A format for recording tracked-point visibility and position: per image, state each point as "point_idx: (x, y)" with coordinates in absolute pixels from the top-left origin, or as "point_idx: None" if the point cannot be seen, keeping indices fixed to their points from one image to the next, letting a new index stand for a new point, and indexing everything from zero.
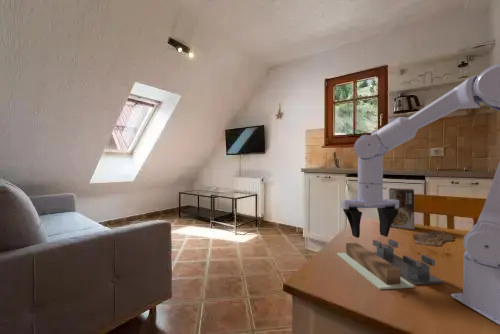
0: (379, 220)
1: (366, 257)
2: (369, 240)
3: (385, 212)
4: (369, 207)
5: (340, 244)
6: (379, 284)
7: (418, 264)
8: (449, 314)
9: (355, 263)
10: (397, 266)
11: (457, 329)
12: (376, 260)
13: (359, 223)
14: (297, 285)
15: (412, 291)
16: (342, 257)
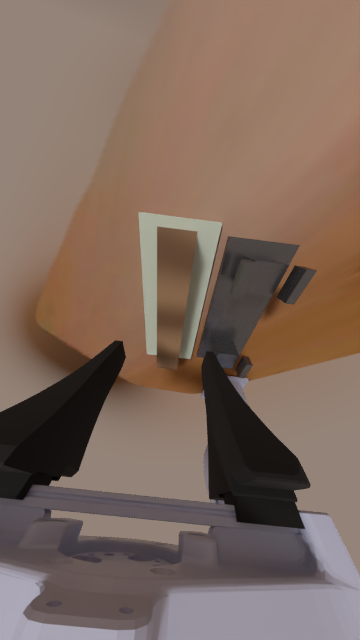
0: (219, 389)
1: (157, 327)
2: None
3: (215, 465)
4: (125, 500)
5: (215, 50)
6: (151, 349)
7: (221, 363)
8: (180, 383)
9: (155, 290)
10: (221, 321)
11: (169, 390)
12: (163, 344)
13: (99, 406)
14: (45, 326)
15: (181, 360)
16: (141, 252)
